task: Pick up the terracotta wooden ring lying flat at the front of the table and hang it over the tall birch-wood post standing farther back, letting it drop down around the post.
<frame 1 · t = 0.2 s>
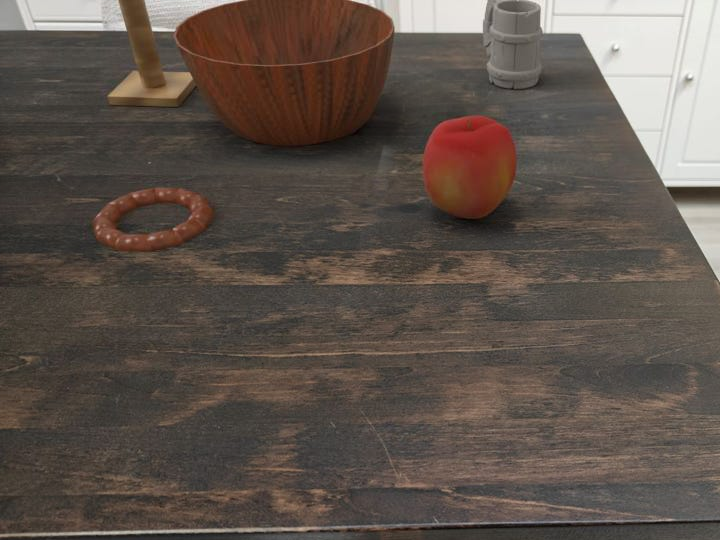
mug: (505, 76, 107), on the table
bowl: (300, 123, 94), on the table
apple: (468, 214, 78), on the table
ring: (154, 220, 73), point 1 cm above the table
post: (156, 92, 100), on the table
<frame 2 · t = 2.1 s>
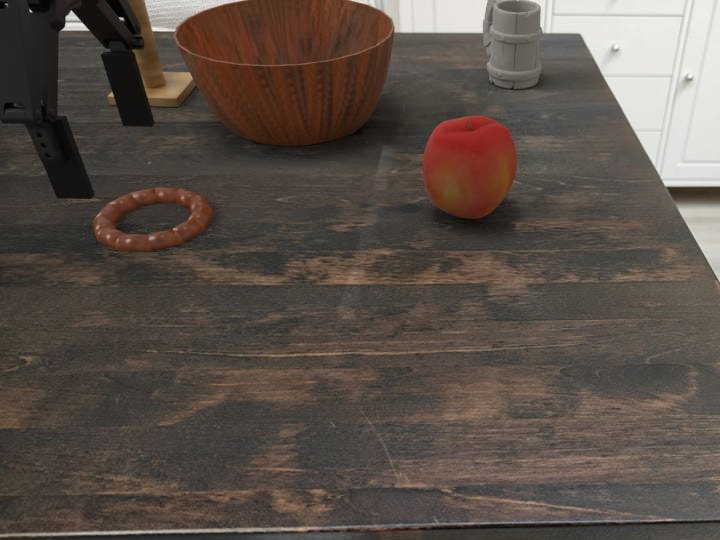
hand: (110, 158, 64), 10 cm above the table, tool pointing down, fingers open, 13 cm apart
nothing on the table moved.
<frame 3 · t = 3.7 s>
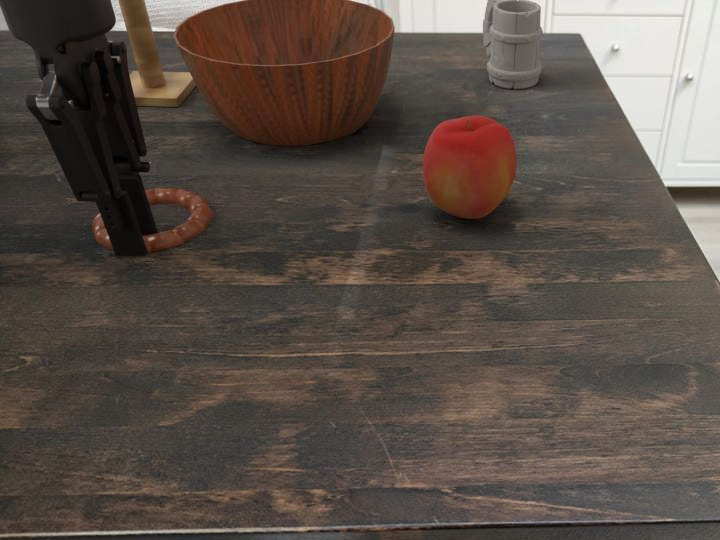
hand: (138, 246, 70), 1 cm above the table, tool pointing down, fingers closed on ring, 2 cm apart
ring: (153, 220, 73), point 1 cm above the table, touching gripper
everything else where it was.
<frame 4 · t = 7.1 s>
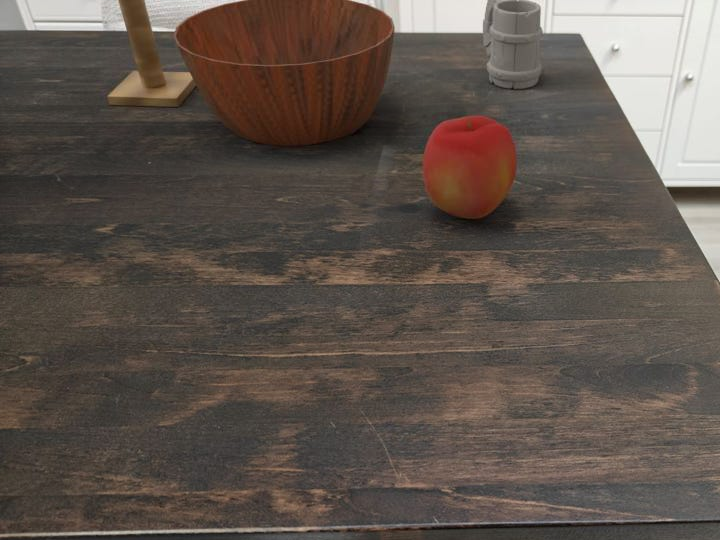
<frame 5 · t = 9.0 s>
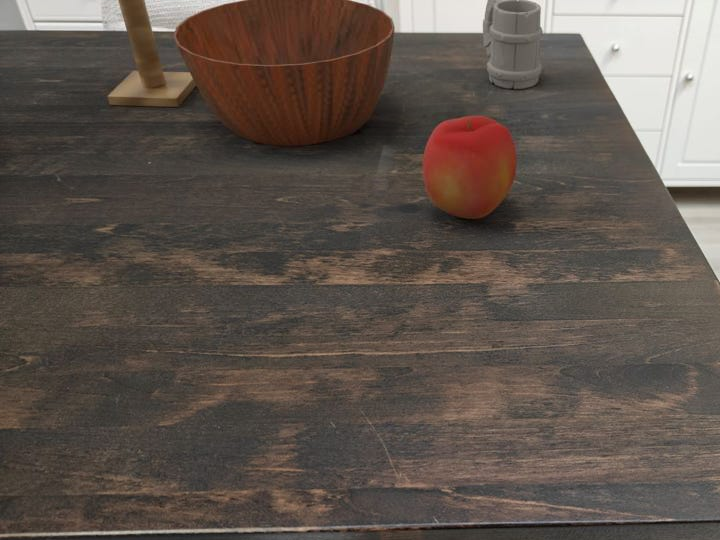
when the fingers open (15 cm above the table, at t = 10.6 s): ring drops 12 cm, point 3 cm above the table.
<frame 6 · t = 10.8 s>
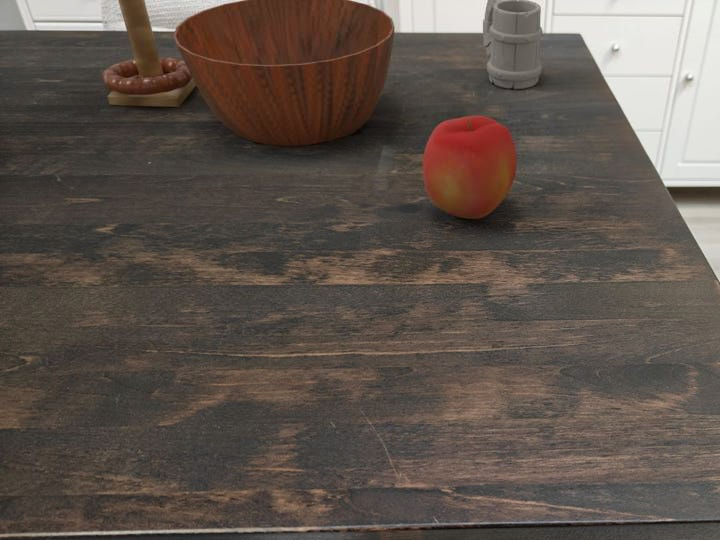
ring: (148, 75, 97), point 3 cm above the table
everything else where it was.
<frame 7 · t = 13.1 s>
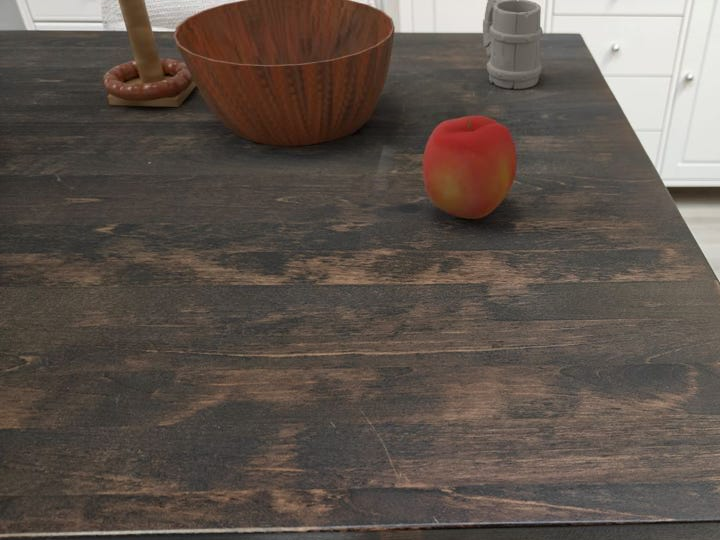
ring: (148, 78, 98), point 2 cm above the table, touching post
everything else where it was.
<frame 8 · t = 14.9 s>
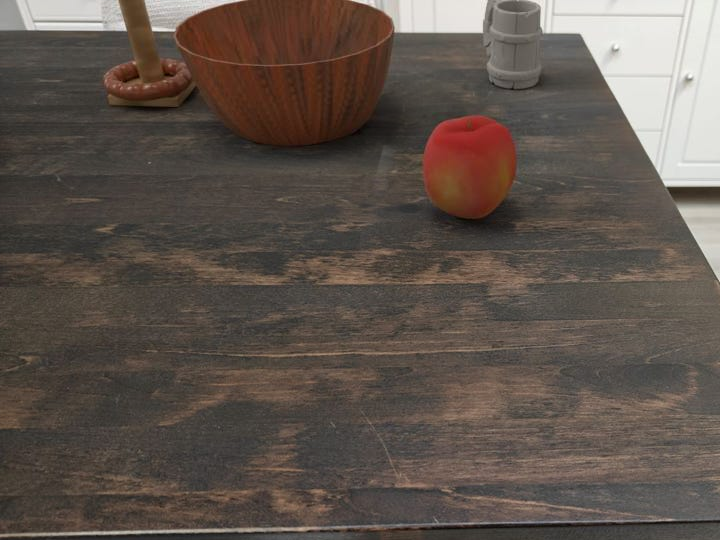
nothing on the table moved.
at the end: ring 0.9 cm from the post (horizontally); ring point 2.2 cm above the table; the gripper is holding nothing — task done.
